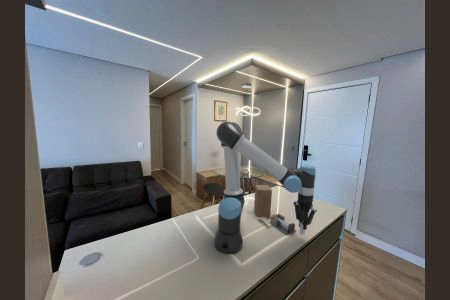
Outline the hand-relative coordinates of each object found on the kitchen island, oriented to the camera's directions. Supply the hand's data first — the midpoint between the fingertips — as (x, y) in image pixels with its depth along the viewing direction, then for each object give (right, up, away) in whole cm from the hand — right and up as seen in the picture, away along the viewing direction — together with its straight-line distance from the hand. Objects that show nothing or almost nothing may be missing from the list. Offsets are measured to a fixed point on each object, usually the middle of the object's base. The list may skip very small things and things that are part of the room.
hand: (302, 233), depth 93 cm
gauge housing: (-11, -2, +14) cm, 17 cm away
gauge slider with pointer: (-10, -1, +10) cm, 15 cm away
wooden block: (-16, 0, +29) cm, 33 cm away
